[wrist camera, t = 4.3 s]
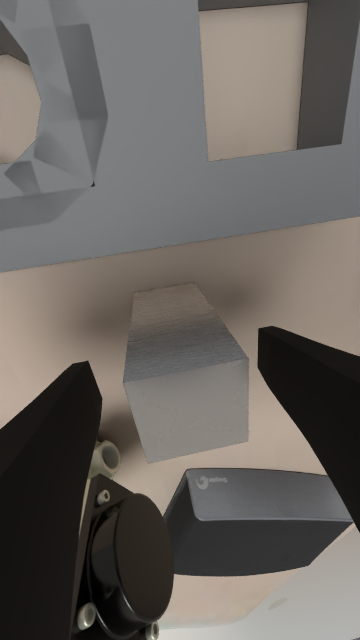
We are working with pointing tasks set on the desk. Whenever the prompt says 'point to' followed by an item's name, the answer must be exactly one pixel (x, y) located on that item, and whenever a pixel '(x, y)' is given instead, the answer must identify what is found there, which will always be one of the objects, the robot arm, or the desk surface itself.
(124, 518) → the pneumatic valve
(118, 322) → the desk surface
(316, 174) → the socket plate
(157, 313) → the square peg
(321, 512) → the external hard drive
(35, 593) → the robot arm
